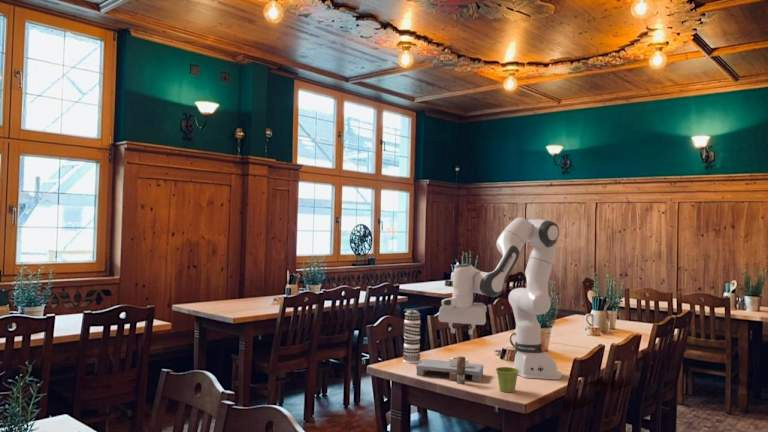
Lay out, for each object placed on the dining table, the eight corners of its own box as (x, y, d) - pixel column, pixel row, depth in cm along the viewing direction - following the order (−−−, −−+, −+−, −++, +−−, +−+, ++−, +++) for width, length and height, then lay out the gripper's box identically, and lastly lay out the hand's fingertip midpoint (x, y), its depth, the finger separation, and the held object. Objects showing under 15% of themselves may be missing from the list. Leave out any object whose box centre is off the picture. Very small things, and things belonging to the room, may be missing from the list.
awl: (465, 382, 247) (466, 356, 247) (464, 384, 243) (464, 358, 244) (457, 381, 248) (457, 356, 248) (455, 383, 244) (456, 357, 245)
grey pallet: (483, 373, 263) (483, 363, 263) (477, 383, 246) (478, 372, 246) (424, 367, 272) (424, 357, 272) (414, 376, 254) (415, 366, 255)
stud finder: (468, 365, 258) (468, 358, 258) (467, 367, 254) (467, 360, 255) (451, 363, 261) (451, 356, 261) (449, 365, 257) (449, 358, 257)
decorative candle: (407, 364, 277) (408, 312, 278) (399, 359, 286) (400, 309, 286) (424, 362, 281) (425, 311, 282) (415, 358, 290) (416, 309, 290)
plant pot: (514, 395, 229) (514, 373, 229) (492, 391, 234) (492, 370, 234) (521, 390, 237) (522, 369, 237) (500, 386, 242) (500, 365, 242)
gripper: (487, 302, 246) (487, 334, 246) (441, 299, 252) (440, 330, 252) (485, 304, 240) (485, 337, 240) (437, 300, 246) (437, 333, 246)
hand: (461, 333), depth 246 cm, fingers open, 6 cm apart
